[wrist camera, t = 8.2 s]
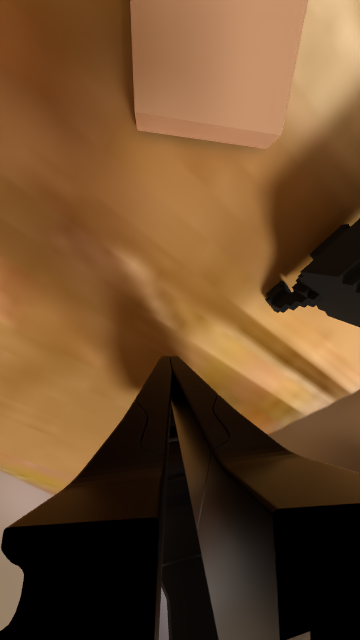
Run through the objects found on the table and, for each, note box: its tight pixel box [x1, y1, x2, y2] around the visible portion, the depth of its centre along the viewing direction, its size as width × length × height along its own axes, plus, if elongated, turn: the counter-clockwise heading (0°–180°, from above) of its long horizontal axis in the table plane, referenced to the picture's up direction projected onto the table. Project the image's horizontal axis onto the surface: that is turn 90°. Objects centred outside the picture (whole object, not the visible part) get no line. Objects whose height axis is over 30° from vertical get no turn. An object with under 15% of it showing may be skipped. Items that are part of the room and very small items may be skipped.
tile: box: [130, 0, 308, 149], centre depth 12 cm, size 2×12×11 cm
